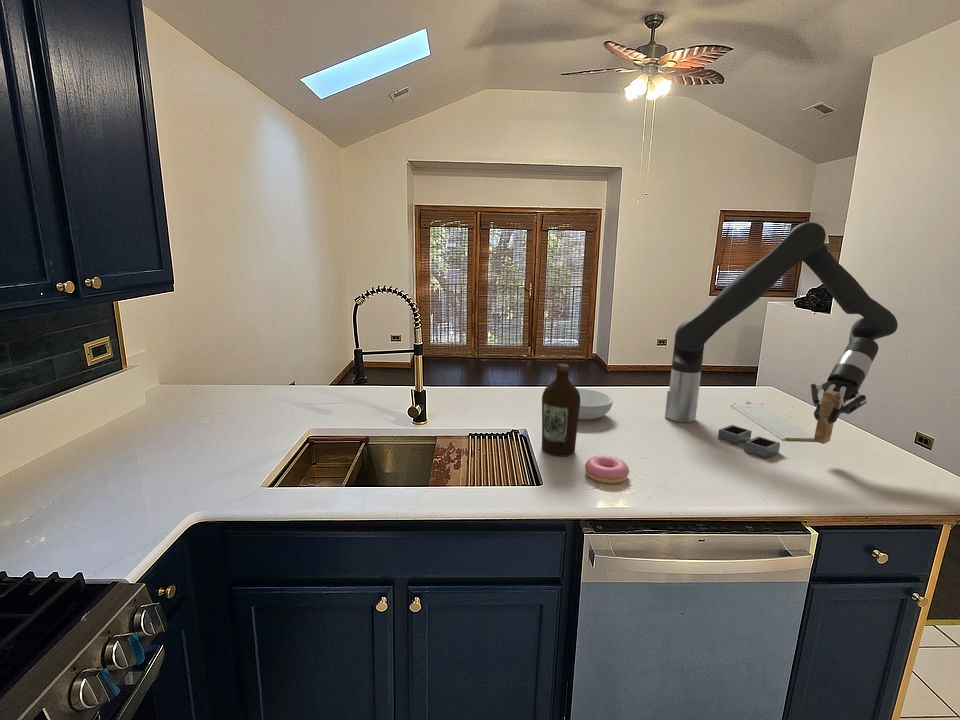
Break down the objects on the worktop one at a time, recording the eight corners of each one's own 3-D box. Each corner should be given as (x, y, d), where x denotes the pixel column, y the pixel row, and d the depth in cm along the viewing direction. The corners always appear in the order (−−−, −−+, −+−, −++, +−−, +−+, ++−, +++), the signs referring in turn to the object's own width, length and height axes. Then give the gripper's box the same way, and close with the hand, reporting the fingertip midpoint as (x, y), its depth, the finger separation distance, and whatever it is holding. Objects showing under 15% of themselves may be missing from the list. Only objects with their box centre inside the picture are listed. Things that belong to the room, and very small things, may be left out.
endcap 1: (717, 438, 153) (718, 429, 152) (730, 433, 157) (732, 424, 157) (737, 445, 148) (738, 435, 147) (750, 439, 152) (751, 430, 152)
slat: (813, 440, 137) (823, 392, 134) (819, 438, 139) (829, 390, 136) (823, 444, 135) (833, 394, 132) (829, 441, 137) (840, 392, 134)
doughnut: (579, 467, 132) (580, 452, 131) (619, 466, 133) (621, 452, 132) (591, 486, 121) (592, 471, 120) (635, 486, 122) (636, 470, 121)
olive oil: (547, 440, 150) (552, 359, 144) (582, 447, 144) (587, 363, 139) (533, 452, 141) (537, 366, 135) (569, 460, 135) (575, 371, 130)
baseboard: (776, 442, 153) (815, 443, 153) (778, 433, 152) (817, 434, 152) (729, 409, 183) (761, 410, 183) (730, 401, 182) (763, 402, 182)
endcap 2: (743, 451, 144) (745, 441, 143) (757, 445, 148) (758, 436, 147) (765, 458, 139) (767, 448, 138) (778, 452, 143) (780, 443, 143)
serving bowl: (609, 429, 159) (610, 409, 158) (544, 421, 166) (545, 401, 164) (613, 409, 179) (615, 391, 177) (555, 403, 185) (556, 385, 184)
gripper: (819, 357, 142) (792, 405, 138) (879, 368, 131) (851, 420, 127) (824, 373, 146) (797, 420, 142) (881, 385, 135) (855, 436, 131)
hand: (823, 420), depth 134 cm, fingers closed on slat, 2 cm apart
